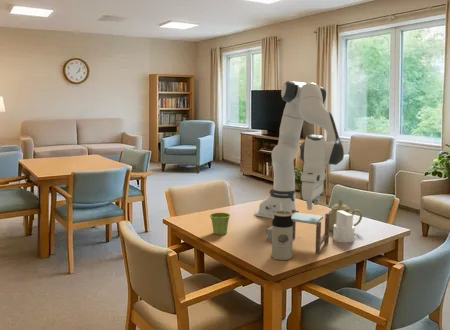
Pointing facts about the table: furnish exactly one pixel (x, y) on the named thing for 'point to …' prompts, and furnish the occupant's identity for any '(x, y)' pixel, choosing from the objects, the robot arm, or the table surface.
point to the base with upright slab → (343, 227)
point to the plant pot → (220, 222)
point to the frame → (317, 232)
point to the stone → (269, 233)
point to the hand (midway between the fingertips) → (312, 206)
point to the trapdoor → (306, 218)
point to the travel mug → (282, 235)
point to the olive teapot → (334, 214)
